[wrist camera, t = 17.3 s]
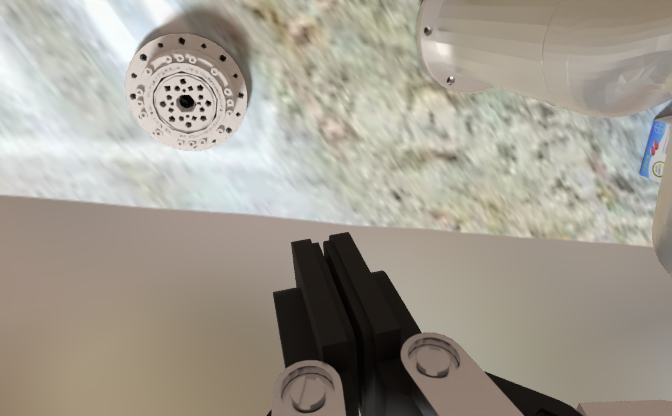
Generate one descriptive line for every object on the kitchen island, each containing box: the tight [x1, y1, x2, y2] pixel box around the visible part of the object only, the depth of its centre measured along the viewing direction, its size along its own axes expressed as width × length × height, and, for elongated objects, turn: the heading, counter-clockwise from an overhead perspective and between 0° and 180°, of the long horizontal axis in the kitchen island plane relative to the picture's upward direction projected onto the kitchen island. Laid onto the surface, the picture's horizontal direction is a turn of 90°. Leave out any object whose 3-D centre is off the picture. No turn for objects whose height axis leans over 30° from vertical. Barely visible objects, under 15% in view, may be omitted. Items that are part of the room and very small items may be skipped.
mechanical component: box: [125, 33, 247, 151], centre depth 34 cm, size 10×4×10 cm
